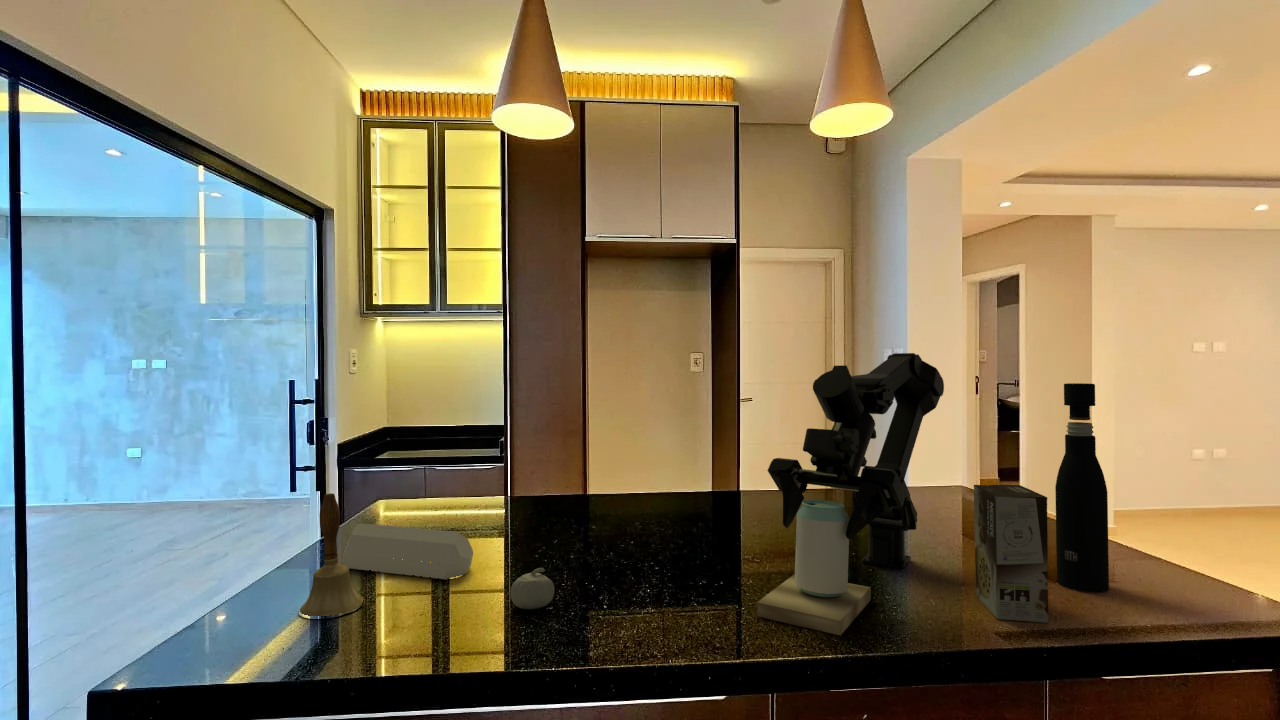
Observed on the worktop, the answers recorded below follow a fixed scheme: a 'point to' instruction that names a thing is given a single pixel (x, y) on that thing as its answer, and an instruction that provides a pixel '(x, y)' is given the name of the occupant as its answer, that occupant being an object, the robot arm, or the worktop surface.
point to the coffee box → (1011, 552)
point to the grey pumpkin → (532, 590)
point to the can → (822, 548)
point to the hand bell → (331, 571)
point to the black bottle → (1081, 501)
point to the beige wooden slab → (814, 607)
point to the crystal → (408, 551)
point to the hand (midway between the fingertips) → (815, 531)
